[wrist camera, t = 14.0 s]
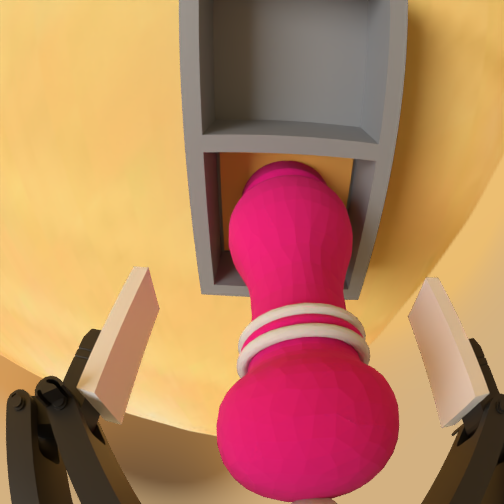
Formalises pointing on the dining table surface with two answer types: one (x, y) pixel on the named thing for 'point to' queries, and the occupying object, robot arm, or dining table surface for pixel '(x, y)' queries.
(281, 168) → the pepper mill
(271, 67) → the rack
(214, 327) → the dining table surface
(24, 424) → the robot arm
